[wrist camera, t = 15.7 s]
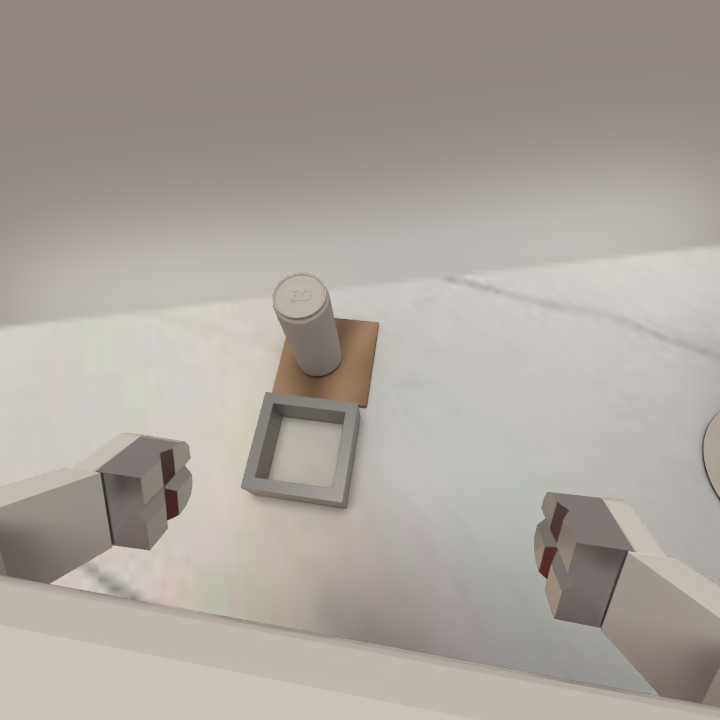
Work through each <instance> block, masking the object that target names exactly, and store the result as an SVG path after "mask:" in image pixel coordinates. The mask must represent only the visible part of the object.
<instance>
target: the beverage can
mask: <svg viewBox="0 0 720 720" xmlns="http://www.w3.org/2000/svg"><path fill="white" fill-rule="evenodd" d="M272 299H273V307H274V310H275V313H276V315H277V317H278V320H279V322H280V324H281V326H282V329H283V331H284V333H285V335H286V338H287V340H288V342H289V345H290V347H291V349H292V351H293V354H294V356H295V358H296V360H297V363H298V365H299V367H300V368H301V369H302V371H304V372H305V373H306V374H309V375H311V376H323V375H326V374H328V373H330V372H332V371H333V370H335V369H336V368H337V367H338V365H339V363H340V361H341V357H342V354H341V348H340V343H339V338H338V333H337V329H336V324H335V320H334V315H333V310H332V306H331V301H330V296H329V293H328V290H327V288H326V286H325V285H324V283H323V282H322V281H321V279H320V278H318V277H317V276H315V275H313V274H310V273H302V272H301V273H294V274H291V275H288V276H287V277H285V278H283V279H282V280H281V281H280V282H279V283H278V284H277V285H276V287H275V289H274V291H273V295H272Z"/></svg>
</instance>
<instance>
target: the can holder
mask: <svg viewBox="0 0 720 720" xmlns="http://www.w3.org/2000/svg"><path fill="white" fill-rule="evenodd" d="M282 417H290V418H298V419H306V420H314V421H322V422H330V423H338V424H343V430H342V436H341V442H340V448H339V454H338V460H337V466H336V472H335V478H334V483H333V489H331V488H324V487H317V486H310V485H303V484H296V483H289V482H282V481H275V480H268V476H269V471H270V467H271V463H272V459H273V454H274V450H275V446H276V442H277V438H278V433H279V429H280V425H281V421H282ZM359 421H360V413H359V407H358V403H353V402H344V401H336V400H328V399H319V398H311V397H302V396H294V395H286V394H277V393H269V392H265V396H264V400H263V404H262V408H261V412H260V415H259V419H258V423H257V427H256V431H255V434H254V438H253V442H252V446H251V450H250V454H249V457H248V461H247V465H246V469H245V473H244V477H243V480H242V484H241V488H242V489H244V490H246V491H248V492H250V493H252V494H253V495H260V496H266V497H273V498H280V499H287V500H293V501H300V502H307V503H313V504H320V505H327V506H334V507H340V508H346V506H347V500H348V493H349V487H350V480H351V474H352V467H353V461H354V454H355V447H356V441H357V434H358V428H359Z"/></svg>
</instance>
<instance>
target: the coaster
mask: <svg viewBox="0 0 720 720" xmlns="http://www.w3.org/2000/svg"><path fill="white" fill-rule="evenodd" d="M334 320H335V324H336V329H337V333H338V338H339V343H340V348H341V354H342V357H341V361H340V363H339V365H338V367H337V368H336V369H335V370H333V371H332V372H330V373H328V374H326V375H323V376H311V375H309V374H306V373H305V372H304V371H302V369H301V368H300V367H299V365H298V363H297V360H296V358H295V356H294V354H293V351H292V349H291V347H290V345H289V342H288V340H287V338H286V340H285V344H284V348H283V352H282V356H281V360H280V364H279V368H278V372H277V376H276V380H275V383H274V387H273V391H272V393H277V394H286V395H294V396H302V397H311V398H319V399H328V400H336V401H344V402H353V403H358V407H361V408H366V407H367V401H368V394H369V387H370V380H371V374H372V367H373V360H374V353H375V346H376V340H377V333H378V326H379V322H369V321H359V320H348V319H338V318H334Z"/></svg>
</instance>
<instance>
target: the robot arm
mask: <svg viewBox="0 0 720 720" xmlns="http://www.w3.org/2000/svg"><path fill="white" fill-rule="evenodd" d="M189 460H190V451H189V445H188V444H187V443H186V442H184V441H178V440H172V439H165V438H159V437H153V436H145V435H140V434H132V433H121V434H119V435H118V436H116V437H115V438H114V439H112V440H111V441H109V442H108V443H107V444H105V445H104V446H102V447H101V448H99V449H98V450H97V451H95V452H94V453H92V454H91V455H90V456H88V457H87V458H85V459H84V460H83V461H81V462H80V463H78V464H77V465H75V466H74V467H73V468H66V467H65V468H61V469H58V470H55V471H52V472H48V473H45V474H42V475H38V476H35V477H32V478H28V479H25V480H22V481H19V482H15V483H12V484H9V485H5V486H2V487H0V720H720V587H719V586H718V585H716V584H714V583H713V582H711V581H710V580H708V579H707V578H705V577H704V576H702V575H701V574H699V573H698V572H696V571H695V570H693V569H691V568H690V567H688V566H687V565H685V564H684V563H682V562H681V561H679V560H678V559H676V558H670V557H667V556H666V555H665V553H664V552H663V551H662V549H661V548H660V546H659V545H658V544H657V542H656V541H655V540H654V538H653V537H652V535H651V534H650V533H649V531H648V530H647V528H646V527H645V526H644V524H643V523H642V522H641V520H640V519H639V517H638V516H637V515H636V513H635V512H634V510H633V509H632V508H631V506H630V505H629V504H628V503H627V502H625V501H624V500H619V499H609V498H599V497H597V498H596V497H588V496H579V495H570V494H562V493H553V492H547V494H546V495H545V497H544V500H543V504H542V510H543V513H544V516H545V519H544V520H543V521H542V522H540V523H539V524H538V525H537V528H536V533H535V538H534V554H535V560H536V564H537V567H538V571H539V572H540V573H541V574H542V575H543V576H544V577H545V578H546V579H547V582H546V586H545V592H546V595H547V598H548V601H549V604H550V607H551V610H552V613H553V616H554V619H558V620H564V621H569V622H574V623H579V624H584V625H589V626H594V627H599V628H601V631H602V632H603V633H604V634H605V635H606V636H607V637H608V639H609V640H610V641H611V642H612V643H613V644H614V645H615V646H616V647H617V648H618V650H619V651H620V652H621V653H622V654H623V655H624V656H625V657H626V658H627V659H628V661H629V662H630V663H631V664H632V665H633V666H634V667H635V668H636V669H637V671H638V672H639V673H640V674H641V675H642V676H643V677H644V678H645V679H646V680H647V682H648V683H649V684H650V685H651V686H652V687H653V688H654V689H655V690H656V691H657V693H658V694H659V695H660V696H656V695H651V694H645V693H640V692H635V691H629V690H623V689H618V688H612V687H607V686H601V685H595V684H590V683H584V682H579V681H573V680H568V679H562V678H557V677H551V676H546V675H541V674H535V673H530V672H525V671H519V670H514V669H508V668H503V667H498V666H492V665H487V664H481V663H476V662H471V661H465V660H460V659H454V658H449V657H444V656H438V655H433V654H428V653H422V652H417V651H411V650H406V649H401V648H395V647H390V646H384V645H379V644H374V643H368V642H363V641H357V640H352V639H346V638H341V637H335V636H330V635H324V634H319V633H313V632H308V631H302V630H297V629H292V628H286V627H281V626H275V625H270V624H264V623H259V622H253V621H248V620H242V619H237V618H231V617H226V616H220V615H215V614H209V613H204V612H198V611H193V610H187V609H182V608H177V607H171V606H166V605H160V604H155V603H149V602H144V601H139V600H133V599H128V598H122V597H117V596H111V595H106V594H101V593H95V592H90V591H84V590H79V589H73V588H68V587H63V586H57V585H52V584H50V583H52V582H54V581H55V580H57V579H59V578H60V577H62V576H64V575H65V574H67V573H69V572H71V571H72V570H74V569H76V568H77V567H79V566H81V565H83V564H84V563H86V562H88V561H89V560H91V559H93V558H95V557H96V556H98V555H100V554H101V553H103V552H105V551H107V550H108V549H110V548H112V545H115V546H122V547H130V548H137V549H144V550H151V548H152V547H153V546H154V545H155V544H156V542H157V541H158V540H159V539H160V538H161V536H162V535H163V534H164V533H165V531H166V530H167V529H168V524H167V520H169V519H172V518H174V517H176V516H178V515H179V514H180V513H181V512H182V511H183V509H184V508H185V507H186V505H187V502H188V500H189V498H190V495H191V490H192V474H191V473H190V472H189V470H188V469H187V468H186V466H185V465H186V463H187V462H188V461H189ZM704 460H705V465H706V469H707V473H708V476H709V478H710V481H711V483H712V485H713V487H714V489H715V491H716V493H717V494H718V496H719V497H720V412H719V413H718V414H717V415H716V416H715V417H714V418H713V420H712V421H711V423H710V424H709V426H708V428H707V431H706V434H705V439H704Z"/></svg>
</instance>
